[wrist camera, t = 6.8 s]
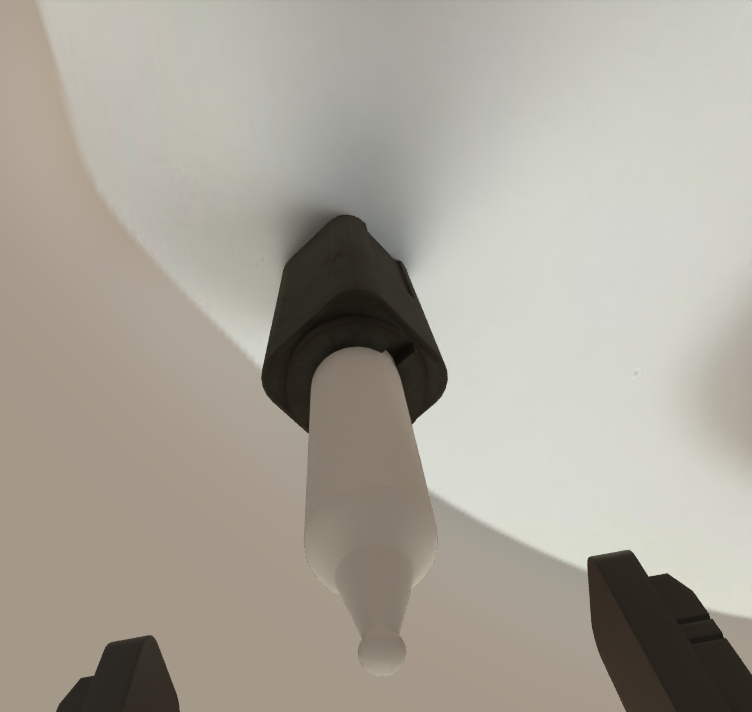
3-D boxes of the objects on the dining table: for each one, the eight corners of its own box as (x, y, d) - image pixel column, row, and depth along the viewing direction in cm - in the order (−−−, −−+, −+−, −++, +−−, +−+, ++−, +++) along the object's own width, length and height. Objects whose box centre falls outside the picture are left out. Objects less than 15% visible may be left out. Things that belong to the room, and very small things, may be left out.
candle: (417, 278, 35) (589, 665, 12) (344, 344, 37) (376, 815, 13) (347, 204, 34) (393, 489, 11) (272, 275, 35) (168, 675, 12)
